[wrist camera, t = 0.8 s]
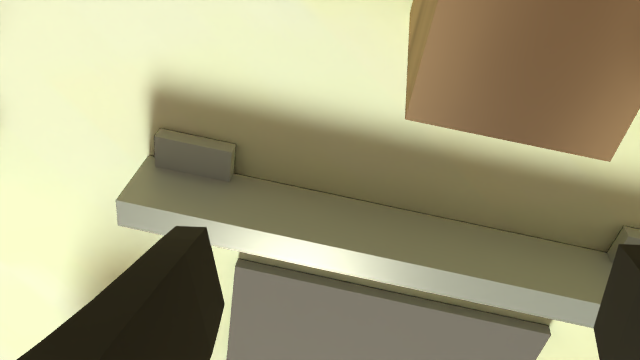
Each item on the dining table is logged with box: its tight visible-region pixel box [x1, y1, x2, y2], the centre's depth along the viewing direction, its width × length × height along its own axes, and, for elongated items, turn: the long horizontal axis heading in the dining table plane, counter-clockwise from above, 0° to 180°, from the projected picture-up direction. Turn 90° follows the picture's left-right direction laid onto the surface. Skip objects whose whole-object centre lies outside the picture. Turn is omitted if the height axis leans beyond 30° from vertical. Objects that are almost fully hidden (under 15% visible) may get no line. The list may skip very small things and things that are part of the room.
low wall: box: [116, 128, 640, 328], centre depth 22 cm, size 22×4×3 cm, turn 82°
